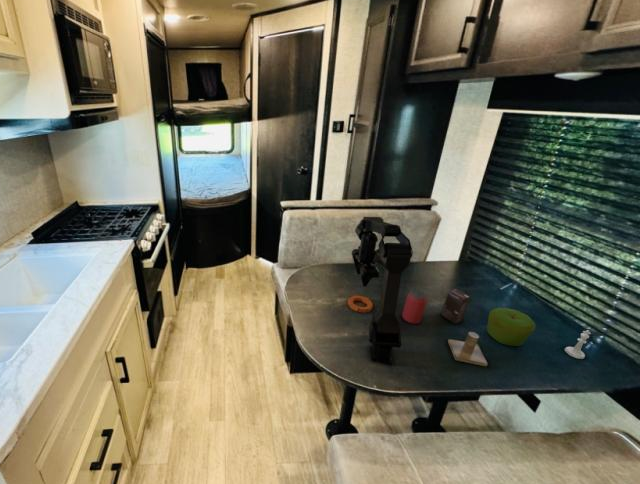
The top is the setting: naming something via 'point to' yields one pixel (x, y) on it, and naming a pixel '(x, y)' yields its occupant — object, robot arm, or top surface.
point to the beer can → (414, 306)
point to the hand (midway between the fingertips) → (361, 280)
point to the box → (455, 305)
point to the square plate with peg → (468, 350)
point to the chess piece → (578, 346)
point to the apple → (509, 326)
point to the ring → (357, 308)
